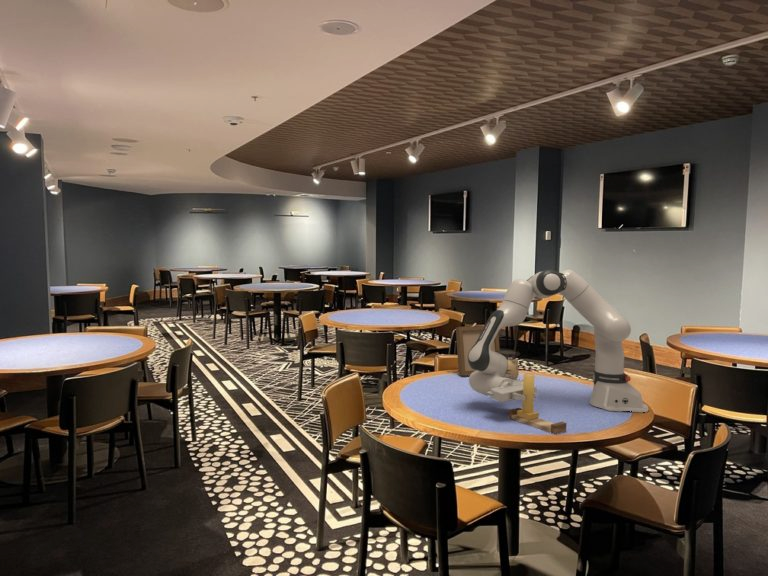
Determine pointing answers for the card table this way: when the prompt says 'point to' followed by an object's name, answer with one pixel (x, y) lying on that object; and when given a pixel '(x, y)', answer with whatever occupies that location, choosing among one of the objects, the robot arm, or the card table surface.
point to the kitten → (512, 369)
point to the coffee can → (507, 354)
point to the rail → (538, 422)
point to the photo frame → (469, 346)
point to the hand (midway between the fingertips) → (530, 397)
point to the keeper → (528, 398)
